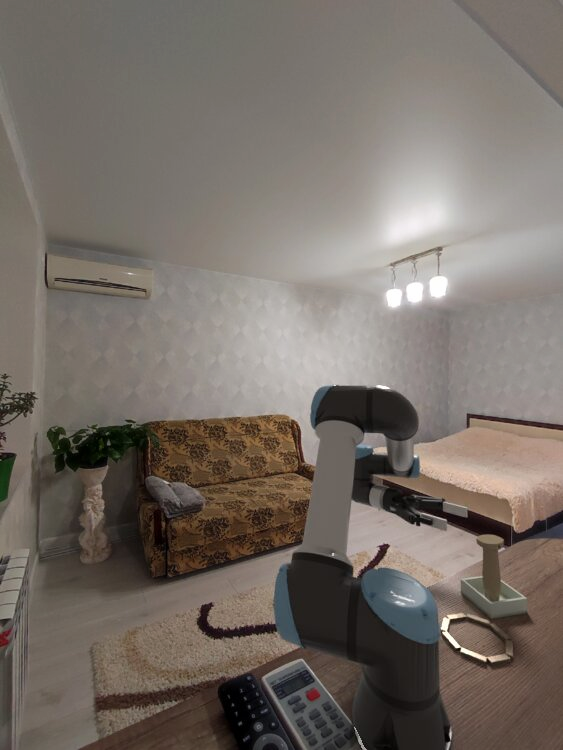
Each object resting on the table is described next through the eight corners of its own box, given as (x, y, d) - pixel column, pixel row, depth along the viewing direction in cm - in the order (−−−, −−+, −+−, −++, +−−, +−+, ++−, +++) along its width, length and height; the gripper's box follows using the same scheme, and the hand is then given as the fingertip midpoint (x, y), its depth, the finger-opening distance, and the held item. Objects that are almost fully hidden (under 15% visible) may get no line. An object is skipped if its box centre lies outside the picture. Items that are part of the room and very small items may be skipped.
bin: (491, 618, 79) (491, 603, 79) (460, 592, 89) (460, 578, 89) (527, 612, 81) (527, 598, 81) (493, 587, 91) (493, 574, 91)
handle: (510, 602, 84) (508, 540, 84) (491, 608, 81) (489, 545, 82) (492, 591, 88) (490, 533, 88) (474, 596, 86) (472, 537, 86)
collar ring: (471, 670, 65) (471, 666, 65) (429, 621, 78) (429, 618, 78) (529, 658, 68) (529, 654, 68) (479, 613, 81) (479, 610, 81)
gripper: (407, 501, 116) (474, 520, 100) (364, 521, 100) (436, 547, 84) (407, 479, 116) (474, 495, 100) (364, 495, 100) (436, 516, 84)
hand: (457, 518), depth 92 cm, fingers open, 13 cm apart
